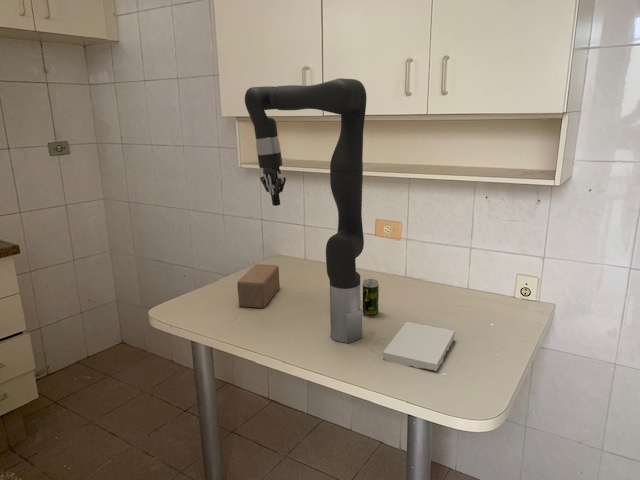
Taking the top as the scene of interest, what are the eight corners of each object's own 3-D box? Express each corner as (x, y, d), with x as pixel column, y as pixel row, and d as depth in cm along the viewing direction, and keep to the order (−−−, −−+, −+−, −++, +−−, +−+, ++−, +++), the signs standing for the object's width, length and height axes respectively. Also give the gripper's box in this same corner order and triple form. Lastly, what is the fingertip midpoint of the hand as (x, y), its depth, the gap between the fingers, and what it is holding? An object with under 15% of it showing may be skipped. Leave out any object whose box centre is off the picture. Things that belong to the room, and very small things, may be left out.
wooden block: (263, 282, 162) (279, 264, 180) (236, 281, 164) (254, 263, 182) (264, 309, 164) (280, 288, 183) (238, 307, 166) (256, 287, 185)
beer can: (361, 311, 160) (361, 279, 157) (377, 311, 161) (377, 278, 157) (363, 318, 155) (363, 284, 152) (379, 317, 155) (379, 284, 152)
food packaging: (436, 375, 123) (454, 341, 139) (436, 364, 122) (454, 331, 138) (382, 362, 130) (406, 331, 146) (382, 352, 129) (406, 321, 145)
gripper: (289, 150, 145) (297, 204, 149) (268, 150, 155) (275, 201, 160) (269, 153, 140) (277, 209, 145) (248, 153, 151) (256, 205, 156)
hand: (276, 205), depth 152 cm, fingers closed
